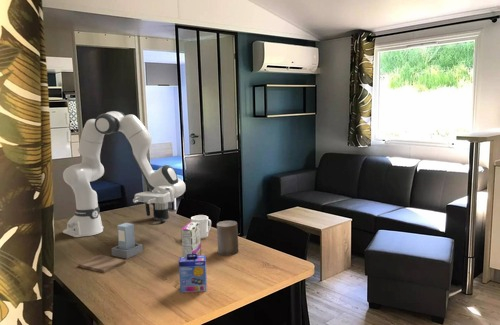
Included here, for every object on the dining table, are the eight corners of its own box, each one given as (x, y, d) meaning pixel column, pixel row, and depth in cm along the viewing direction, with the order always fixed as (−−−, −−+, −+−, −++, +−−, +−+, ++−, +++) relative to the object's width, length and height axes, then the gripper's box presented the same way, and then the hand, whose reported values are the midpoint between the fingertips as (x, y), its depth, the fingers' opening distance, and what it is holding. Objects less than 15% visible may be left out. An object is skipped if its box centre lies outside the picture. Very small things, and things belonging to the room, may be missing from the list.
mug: (188, 238, 212) (187, 219, 210) (197, 233, 220) (196, 214, 218) (207, 240, 208) (206, 220, 206) (215, 235, 216) (214, 216, 214)
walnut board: (78, 266, 178) (78, 263, 177) (100, 257, 188) (100, 254, 188) (104, 273, 170) (104, 270, 170) (125, 262, 180) (125, 260, 180)
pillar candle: (242, 251, 191) (241, 220, 189) (227, 257, 184) (226, 224, 182) (228, 246, 198) (227, 216, 196) (213, 252, 191) (212, 221, 189)
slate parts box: (119, 254, 191) (116, 225, 189) (128, 250, 196) (126, 222, 194) (126, 256, 188) (124, 227, 186) (135, 252, 193) (133, 223, 191)
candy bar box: (191, 256, 186) (189, 221, 184) (201, 257, 185) (200, 222, 183) (182, 266, 175) (180, 229, 173) (193, 266, 174) (191, 229, 172)
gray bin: (112, 255, 190) (111, 248, 189) (128, 248, 199) (127, 241, 198) (127, 258, 185) (126, 251, 185) (142, 251, 194) (142, 244, 194)
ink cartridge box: (179, 293, 150) (177, 255, 148) (181, 286, 155) (179, 250, 153) (206, 291, 150) (205, 254, 148) (207, 285, 156) (205, 248, 154)
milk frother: (164, 215, 258) (163, 192, 256) (177, 219, 246) (176, 196, 244) (143, 219, 249) (142, 196, 246) (157, 225, 237) (155, 200, 235)
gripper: (145, 187, 215) (125, 194, 203) (174, 189, 203) (154, 196, 192) (147, 199, 216) (127, 206, 204) (176, 201, 204) (156, 209, 193)
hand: (140, 201), depth 198 cm, fingers open, 8 cm apart
